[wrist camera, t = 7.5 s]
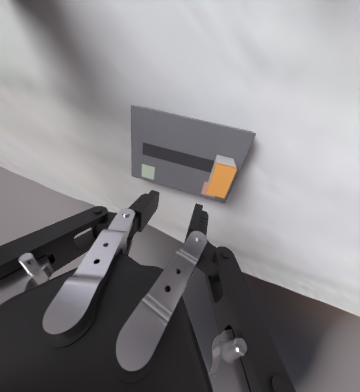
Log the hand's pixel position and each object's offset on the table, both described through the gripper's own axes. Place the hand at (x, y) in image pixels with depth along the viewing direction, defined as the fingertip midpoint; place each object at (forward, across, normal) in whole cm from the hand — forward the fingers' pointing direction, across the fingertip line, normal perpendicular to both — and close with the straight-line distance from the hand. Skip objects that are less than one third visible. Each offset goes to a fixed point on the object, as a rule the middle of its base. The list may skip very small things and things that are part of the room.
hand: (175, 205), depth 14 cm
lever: (+15, -5, 0) cm, 16 cm away
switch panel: (+19, +3, 0) cm, 19 cm away
